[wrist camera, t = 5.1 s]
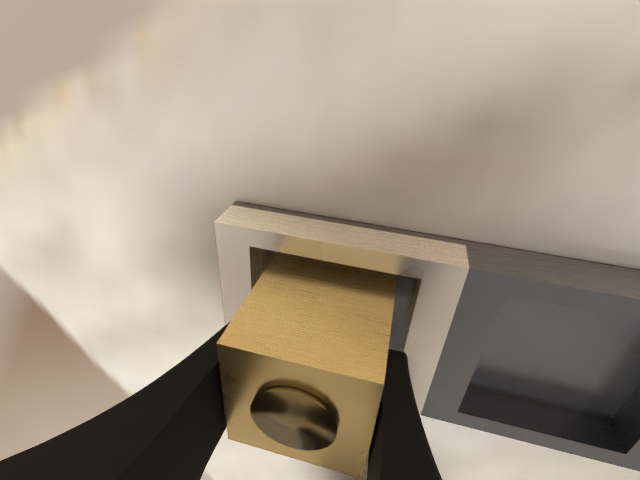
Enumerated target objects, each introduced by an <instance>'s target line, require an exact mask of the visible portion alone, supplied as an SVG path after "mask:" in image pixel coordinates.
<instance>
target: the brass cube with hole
mask: <svg viewBox="0 0 640 480" xmlns="http://www.w3.org/2000/svg"><path fill="white" fill-rule="evenodd" d="M396 283H397V275H396V274H391V273H386V272H381V271H375V270H370V269H365V268H360V267H355V266H349V265H344V264H339V263H334V262H328V261H323V260H318V259H313V258H308V257H302V256H297V255H292V254H287V253H282V252H276V253H275V255H274V256H273V258H272V259H271V261H270V262H269V264H268V265H267V267H266V269H265V270H264V272H263V273H262V275H261V276H260V278H259V279H258V281H257V282H256V284H255V285H254V287H253V288H252V290H251V291H250V293H249V294H248V296H247V297H246V299H245V300H244V302H243V304H242V305H241V307H240V308H239V310H238V311H237V313H236V314H235V316H234V317H233V319H232V320H231V322H230V323H229V325H228V326H227V328H226V329H225V331H224V332H223V334H222V336H221V337H220V339H219V340H218V342H217V343H216V345H217V353H218V360H219V368H220V376H221V384H222V392H223V400H224V408H225V416H226V424H227V432H228V439H230V440H234V441H237V442H240V443H244V444H247V445H251V446H254V447H257V448H261V449H264V450H268V451H271V452H274V453H278V454H281V455H284V456H288V457H291V458H295V459H298V460H301V461H305V462H308V463H312V464H315V465H318V466H322V467H325V468H328V469H332V470H335V471H339V472H342V473H345V474H349V475H352V476H356V477H359V478H362V479H363V474H364V470H365V466H366V461H367V457H368V453H369V448H370V444H371V440H372V435H373V431H374V427H375V422H376V418H377V414H378V409H379V405H380V401H381V396H382V392H383V388H384V382H385V374H386V365H387V357H388V349H389V341H390V332H391V324H392V316H393V308H394V299H395V291H396Z"/></svg>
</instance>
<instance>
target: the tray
mask: <svg viewBox="0 0 640 480" xmlns="http://www.w3.org/2000/svg"><path fill="white" fill-rule="evenodd" d="M214 227H215V236H216V245H217V255H218V264H219V273H220V283H221V292H222V302H223V311H224V320H225V325H226V324H228V323H229V322H230V321H231V320H232V319H233V317H234V316H235V314H236V313H237V311H238V310H239V308H240V307H241V305H242V304H243V302H244V300H245V299H246V297H247V296H248V294H249V293H250V291H251V290H252V288H253V287H254V285H255V284H256V282H257V281H258V279H259V278H260V276H261V275H262V273H263V272H264V270H265V269H266V267H267V265H268V264H269V262H270V261H271V259H272V258H273V256H274V255H275V253H276V252H282V253H287V254H292V255H297V256H302V257H308V258H313V259H318V260H323V261H328V262H334V263H339V264H344V265H349V266H355V267H360V268H365V269H370V270H375V271H381V272H386V273H391V274H396V275H397V283H396V291H395V299H394V308H393V316H392V324H391V332H390V341H389V349H392V350H396V351H401V352H405V354H406V355H407V357H408V367H409V373H410V378H411V383H412V388H413V392H414V397H415V400H416V404H417V408H418V411H419V415H423V416H427V417H431V418H435V419H438V420H442V421H446V422H450V423H454V424H458V425H462V426H466V427H470V428H473V429H477V430H481V431H485V432H489V433H493V434H497V435H501V436H505V437H509V438H512V439H516V440H520V441H524V442H528V443H532V444H536V445H540V446H544V447H547V448H551V449H555V450H559V451H563V452H567V453H571V454H575V455H579V456H582V457H586V458H590V459H594V460H598V461H602V462H606V463H610V464H614V465H617V466H621V467H625V468H629V469H633V470H637V471H640V270H636V269H630V268H624V267H618V266H612V265H606V264H600V263H595V262H589V261H583V260H577V259H571V258H565V257H559V256H553V255H547V254H542V253H536V252H530V251H524V250H518V249H512V248H506V247H500V246H494V245H489V244H483V243H477V242H471V241H465V240H459V239H453V238H447V237H441V236H436V235H430V234H424V233H418V232H412V231H406V230H400V229H394V228H388V227H383V226H377V225H371V224H365V223H359V222H353V221H347V220H341V219H336V218H330V217H324V216H318V215H312V214H306V213H300V212H294V211H288V210H283V209H277V208H271V207H265V206H259V205H253V204H247V203H241V202H234V203H233V204H232V205H231V206H230V207H229V208H228V209H227V210H226V211H225V212H224V213H223V214H222V215H220V216H219V217H218V218H217V219H216V220H215V221H214Z"/></svg>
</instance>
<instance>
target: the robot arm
mask: <svg viewBox="0 0 640 480" xmlns="http://www.w3.org/2000/svg"><path fill="white" fill-rule="evenodd" d="M230 322H231V321H230ZM230 322H229V323H230ZM229 323H228V324H226V325H225V326H224V327H223V328H222V329H221V330H220V331H218V332H217V333H216V334H215V335H214V336H212V337H211V338H210V339H209V340H208V341H206V342H205V343H204V344H203V345H201V346H200V347H199V348H198V349H196V350H195V351H194V352H193V353H191V354H190V355H189V356H188V357H186V358H185V359H184V360H183V361H181V362H180V363H178V364H177V365H176V366H174V367H173V368H172V369H170V370H169V371H168V372H166V373H165V374H163V375H162V376H161V377H159V378H158V379H156V380H155V381H153V382H152V383H150V384H149V385H147V386H146V387H144V388H143V389H141V390H140V391H138V392H137V393H135V394H133V395H132V396H130V397H129V398H127V399H125V400H124V401H122V402H120V403H119V404H117V405H115V406H113V407H112V408H110V409H108V410H107V411H105V412H103V413H101V414H99V415H98V416H96V417H94V418H92V419H91V420H88V421H86V422H85V423H82V424H80V425H79V426H76V427H75V428H72V429H70V430H69V431H66V432H64V433H62V434H61V435H58V436H56V437H54V438H52V439H50V440H48V441H46V442H44V443H42V444H39V445H37V446H35V447H32V448H30V449H28V450H25V451H23V452H21V453H18V454H16V455H13V456H11V457H9V458H7V459H4V460H2V461H0V480H200V479H201V476H202V474H203V472H204V469H205V467H206V465H207V463H208V461H209V459H210V457H211V455H212V453H213V451H214V449H215V447H216V445H217V443H218V442H219V440H220V438H221V436H222V434H223V432H224V430H225V429H226V427H227V424H226V416H225V408H224V400H223V392H222V384H221V376H220V368H219V360H218V353H217V345H216V343H217V342H218V340H219V339H220V337H221V336H222V334H223V332H224V331H225V329H226V328H227V326H228V325H229ZM367 480H442V478H441V476H440V473H439V471H438V468H437V466H436V463H435V460H434V458H433V455H432V452H431V449H430V446H429V443H428V441H427V438H426V435H425V431H424V428H423V425H422V422H421V418H420V415H419V411H418V408H417V404H416V400H415V397H414V392H413V388H412V383H411V378H410V373H409V367H408V357H407V355H406V354H405V352H401V351H396V350H392V349H388V357H387V365H386V374H385V382H384V388H383V392H382V396H381V401H380V405H379V409H378V414H377V418H376V422H375V427H374V431H373V435H372V440H371V444H370V448H369V457H368V474H367Z"/></svg>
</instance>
